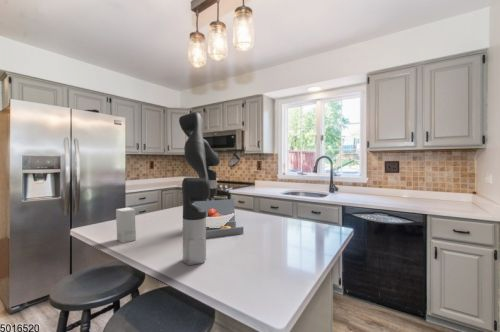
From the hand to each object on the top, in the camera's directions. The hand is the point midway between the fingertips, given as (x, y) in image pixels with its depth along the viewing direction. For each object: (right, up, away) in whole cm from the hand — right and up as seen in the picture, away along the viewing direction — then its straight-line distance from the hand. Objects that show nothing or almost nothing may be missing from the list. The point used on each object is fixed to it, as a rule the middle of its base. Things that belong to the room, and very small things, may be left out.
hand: (210, 214), depth 147 cm
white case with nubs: (+7, -6, -16) cm, 19 cm away
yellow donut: (+11, -6, -14) cm, 18 cm away
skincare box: (-37, -7, -29) cm, 48 cm away
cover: (+4, +4, -9) cm, 11 cm away
